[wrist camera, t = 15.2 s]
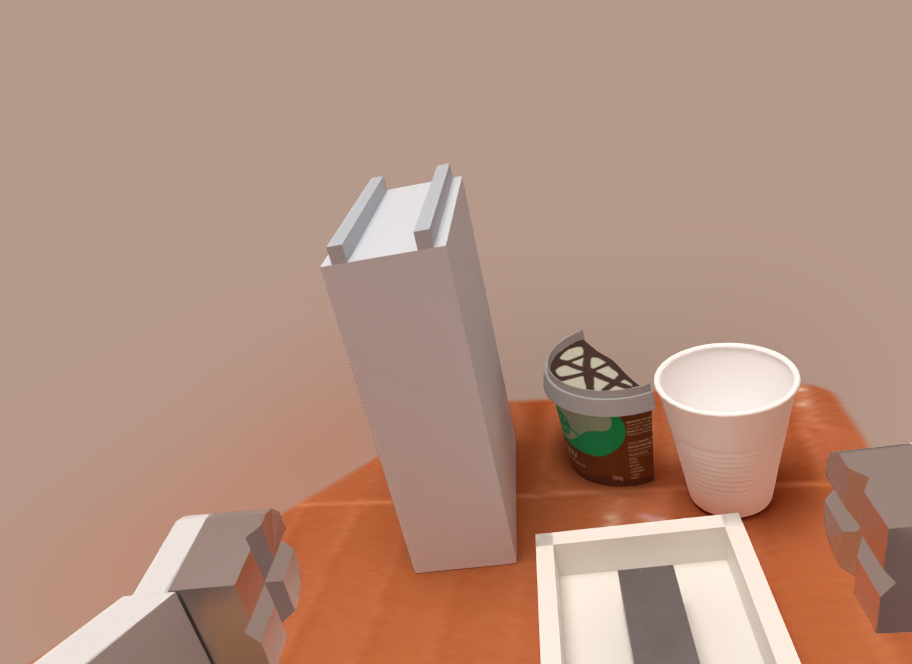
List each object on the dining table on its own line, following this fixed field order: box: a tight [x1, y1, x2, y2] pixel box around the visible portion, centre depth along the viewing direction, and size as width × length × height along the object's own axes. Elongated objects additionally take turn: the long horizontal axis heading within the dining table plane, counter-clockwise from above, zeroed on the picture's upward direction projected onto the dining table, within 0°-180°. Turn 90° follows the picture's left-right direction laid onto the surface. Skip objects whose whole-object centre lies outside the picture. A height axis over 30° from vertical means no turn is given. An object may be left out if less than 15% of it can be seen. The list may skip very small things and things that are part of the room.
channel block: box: [320, 163, 517, 573], centre depth 57 cm, size 8×16×27 cm, turn 176°
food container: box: [543, 330, 656, 486], centre depth 61 cm, size 12×6×10 cm, turn 18°
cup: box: [654, 343, 801, 518], centre depth 54 cm, size 10×10×11 cm
